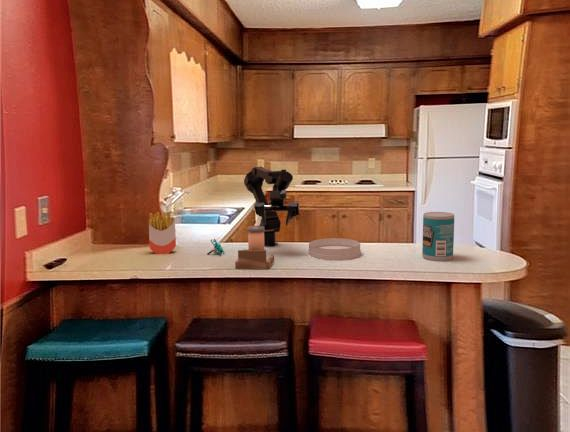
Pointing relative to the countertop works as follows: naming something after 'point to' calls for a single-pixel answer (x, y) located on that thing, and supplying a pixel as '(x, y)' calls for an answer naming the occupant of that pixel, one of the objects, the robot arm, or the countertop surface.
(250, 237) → the jar
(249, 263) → the brown wooden frame
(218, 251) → the stick construction toy
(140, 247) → the countertop surface
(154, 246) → the french fries container
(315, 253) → the dish
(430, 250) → the food can
